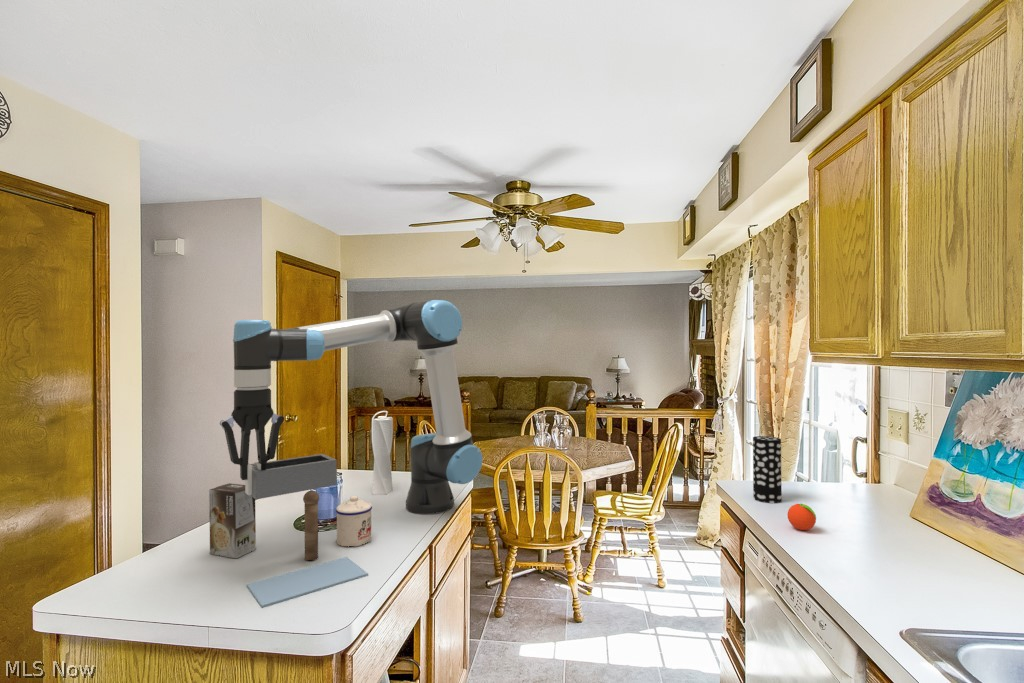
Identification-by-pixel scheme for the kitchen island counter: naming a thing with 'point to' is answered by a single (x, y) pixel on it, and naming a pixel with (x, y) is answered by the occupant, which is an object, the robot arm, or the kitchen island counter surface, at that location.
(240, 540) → the coffee box
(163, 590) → the kitchen island counter surface
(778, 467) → the spotted tube
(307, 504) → the walnut peg
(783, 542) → the kitchen island counter surface
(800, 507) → the clementine
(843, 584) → the kitchen island counter surface
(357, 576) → the slate mat
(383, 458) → the skyscraper
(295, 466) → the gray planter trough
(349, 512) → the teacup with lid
